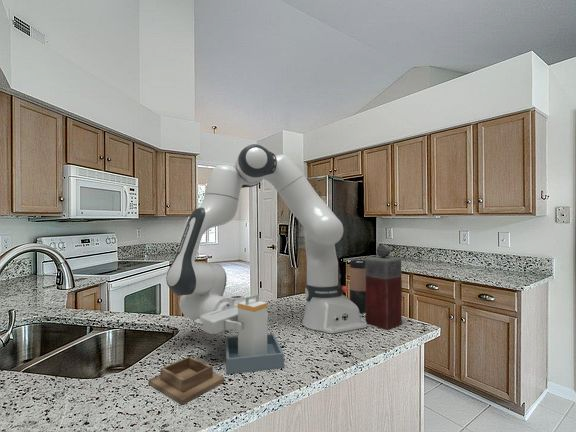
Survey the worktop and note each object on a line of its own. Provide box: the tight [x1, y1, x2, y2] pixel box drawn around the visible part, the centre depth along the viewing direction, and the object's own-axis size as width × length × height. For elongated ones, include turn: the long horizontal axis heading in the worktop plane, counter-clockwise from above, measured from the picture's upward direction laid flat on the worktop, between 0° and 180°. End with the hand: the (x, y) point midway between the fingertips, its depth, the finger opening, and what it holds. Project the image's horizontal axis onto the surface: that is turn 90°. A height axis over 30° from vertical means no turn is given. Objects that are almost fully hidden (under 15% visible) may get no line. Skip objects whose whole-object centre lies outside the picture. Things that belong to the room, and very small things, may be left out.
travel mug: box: [349, 259, 366, 314], centre depth 125 cm, size 8×8×20 cm
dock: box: [147, 356, 226, 406], centre depth 70 cm, size 13×11×4 cm
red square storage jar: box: [365, 244, 403, 331], centre depth 110 cm, size 9×11×28 cm
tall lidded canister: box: [237, 293, 268, 357], centre depth 83 cm, size 6×5×16 cm
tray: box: [224, 333, 285, 375], centre depth 83 cm, size 14×14×4 cm
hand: (255, 321), depth 82 cm, fingers open, 8 cm apart
